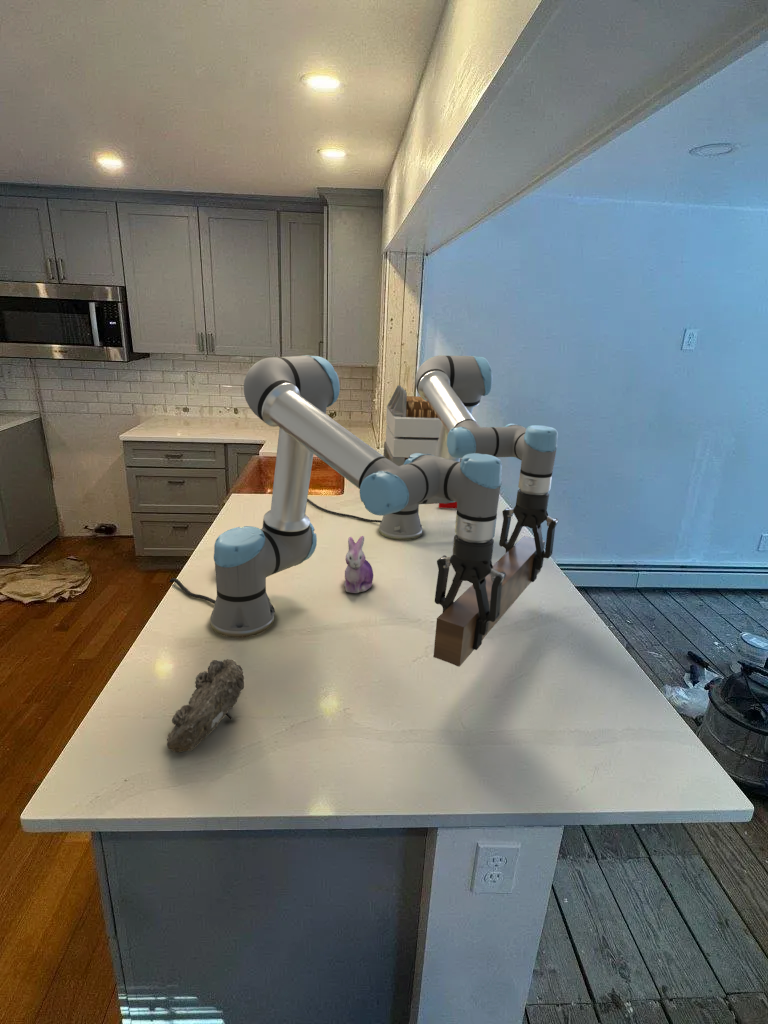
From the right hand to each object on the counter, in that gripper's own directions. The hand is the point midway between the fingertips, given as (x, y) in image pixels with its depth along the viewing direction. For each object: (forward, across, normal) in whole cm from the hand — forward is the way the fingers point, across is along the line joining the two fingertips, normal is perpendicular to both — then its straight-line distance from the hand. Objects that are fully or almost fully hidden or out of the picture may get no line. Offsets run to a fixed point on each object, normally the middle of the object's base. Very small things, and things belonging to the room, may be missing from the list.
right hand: (521, 576), depth 145 cm
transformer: (+13, -85, +105) cm, 136 cm away
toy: (+12, -58, +78) cm, 98 cm away
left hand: (0, 0, -37) cm, 37 cm away
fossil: (+11, -35, -72) cm, 81 cm away
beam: (0, 0, -18) cm, 19 cm away
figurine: (+12, -43, -11) cm, 46 cm away
